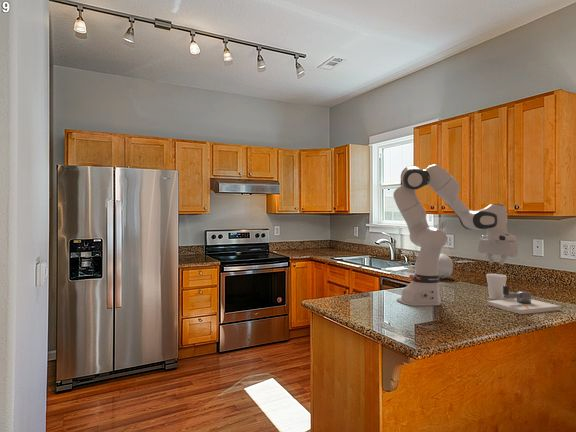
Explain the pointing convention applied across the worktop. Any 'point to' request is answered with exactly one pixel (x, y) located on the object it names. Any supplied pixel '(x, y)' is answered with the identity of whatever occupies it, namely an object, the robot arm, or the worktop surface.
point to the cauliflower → (444, 266)
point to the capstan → (518, 295)
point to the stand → (523, 306)
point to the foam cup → (496, 286)
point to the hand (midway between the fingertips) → (496, 263)
